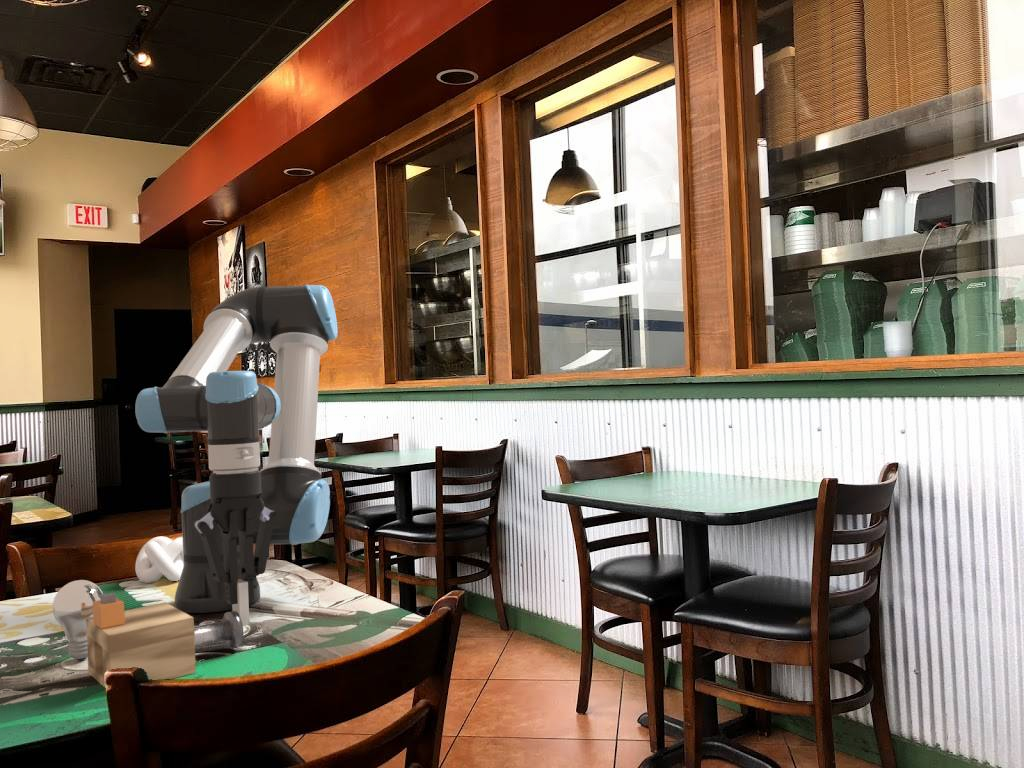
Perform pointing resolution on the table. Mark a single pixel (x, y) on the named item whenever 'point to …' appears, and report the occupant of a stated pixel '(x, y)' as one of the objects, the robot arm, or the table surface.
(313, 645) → the table surface
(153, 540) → the white knot sculpture
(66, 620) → the light bulb
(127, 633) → the block
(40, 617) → the table surface
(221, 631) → the pin
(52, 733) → the table surface
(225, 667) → the table surface
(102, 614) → the bar
